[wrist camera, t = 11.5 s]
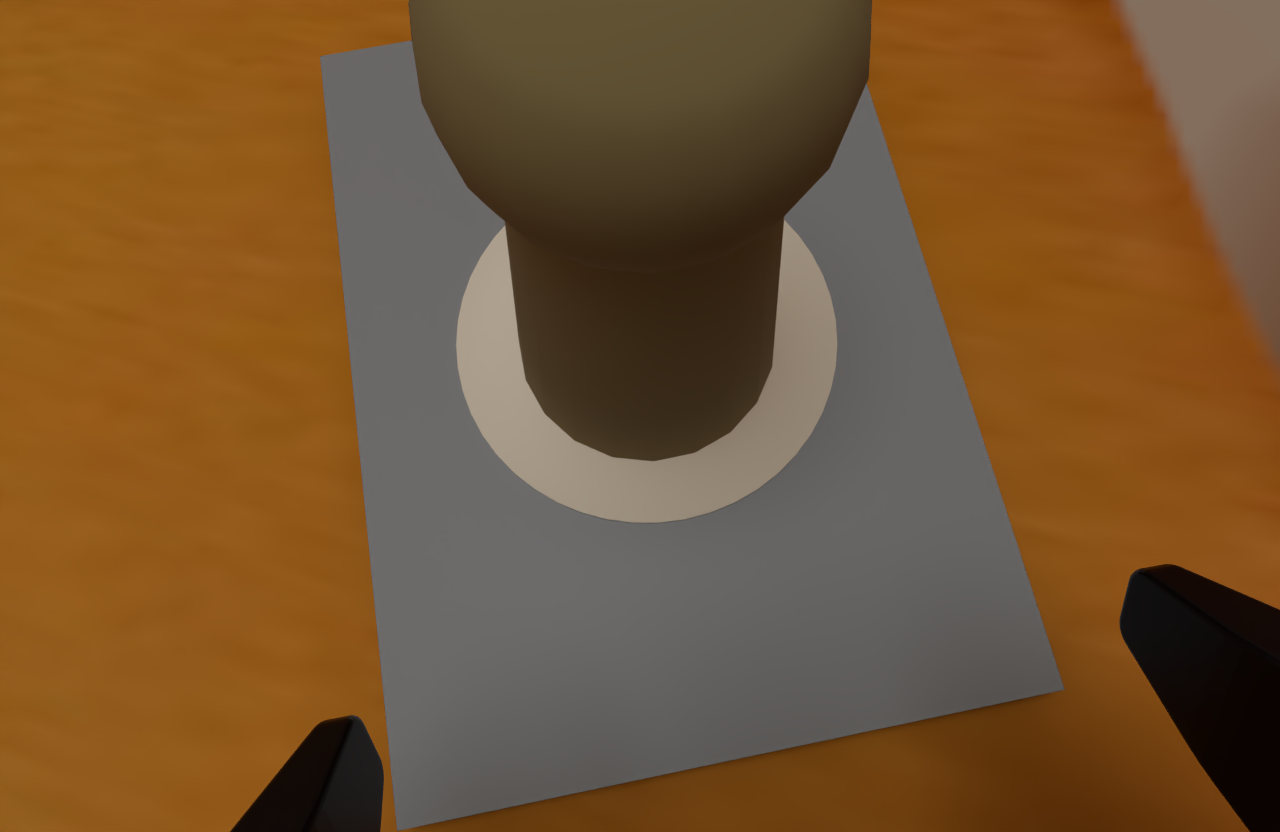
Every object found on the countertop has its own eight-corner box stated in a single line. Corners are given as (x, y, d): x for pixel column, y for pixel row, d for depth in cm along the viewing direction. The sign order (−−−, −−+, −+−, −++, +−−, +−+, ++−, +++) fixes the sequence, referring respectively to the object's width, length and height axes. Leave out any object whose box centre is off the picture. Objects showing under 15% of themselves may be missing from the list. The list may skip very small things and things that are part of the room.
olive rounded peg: (611, 180, 19) (559, -392, 8) (822, 300, 18) (1072, -168, 7) (468, 372, 17) (184, -9, 7) (686, 512, 17) (749, 323, 6)
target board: (1045, 686, 16) (1067, 690, 15) (409, 820, 16) (395, 832, 15) (822, -9, 21) (829, -35, 20) (332, 77, 21) (318, 53, 20)
